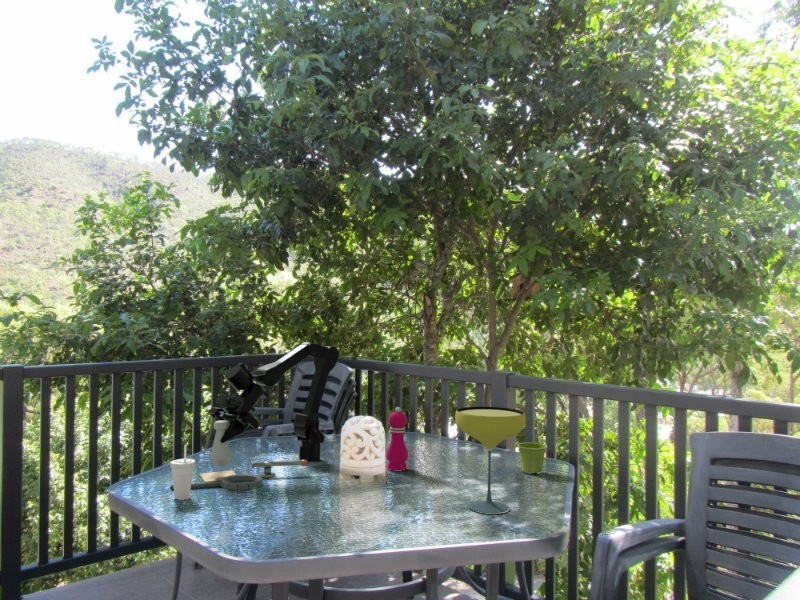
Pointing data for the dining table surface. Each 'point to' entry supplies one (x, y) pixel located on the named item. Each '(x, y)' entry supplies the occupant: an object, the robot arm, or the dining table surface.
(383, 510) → the dining table surface
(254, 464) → the clip
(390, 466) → the pepper mill
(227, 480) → the grey ring with rod
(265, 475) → the clip post
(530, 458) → the plant pot
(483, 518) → the dining table surface
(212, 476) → the coaster
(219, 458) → the salt shaker
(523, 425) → the cocktail glass
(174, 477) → the smoothie
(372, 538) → the dining table surface
